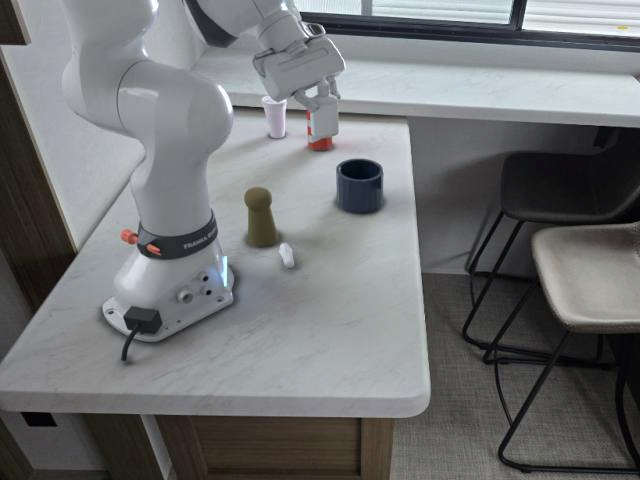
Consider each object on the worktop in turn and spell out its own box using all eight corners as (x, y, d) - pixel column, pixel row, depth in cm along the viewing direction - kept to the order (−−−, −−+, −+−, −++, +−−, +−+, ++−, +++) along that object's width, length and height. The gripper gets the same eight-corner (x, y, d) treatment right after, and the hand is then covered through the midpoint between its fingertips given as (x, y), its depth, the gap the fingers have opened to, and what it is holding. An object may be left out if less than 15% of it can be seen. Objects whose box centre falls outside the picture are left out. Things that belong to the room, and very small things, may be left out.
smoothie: (292, 131, 150) (288, 78, 141) (286, 141, 145) (281, 87, 136) (268, 128, 150) (263, 76, 141) (262, 139, 145) (256, 85, 136)
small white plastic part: (273, 270, 105) (272, 257, 103) (281, 251, 109) (280, 239, 107) (292, 272, 105) (291, 259, 102) (299, 253, 109) (298, 240, 107)
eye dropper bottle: (337, 140, 114) (336, 81, 106) (310, 138, 114) (307, 79, 106) (339, 130, 117) (338, 73, 109) (312, 129, 117) (309, 71, 109)
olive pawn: (271, 249, 110) (266, 201, 102) (243, 244, 110) (235, 196, 103) (282, 232, 114) (278, 185, 107) (255, 227, 115) (248, 180, 108)
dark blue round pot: (364, 219, 120) (365, 186, 114) (327, 203, 123) (326, 171, 118) (391, 199, 126) (392, 167, 121) (354, 185, 130) (355, 154, 125)
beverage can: (304, 143, 145) (302, 97, 137) (328, 139, 147) (326, 95, 139) (312, 153, 141) (309, 107, 133) (335, 149, 143) (335, 104, 135)
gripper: (255, 46, 99) (300, 113, 102) (326, 23, 113) (365, 83, 115) (240, 66, 104) (284, 130, 107) (310, 41, 117) (348, 99, 120)
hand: (326, 105), depth 111 cm, fingers closed on eye dropper bottle, 5 cm apart
